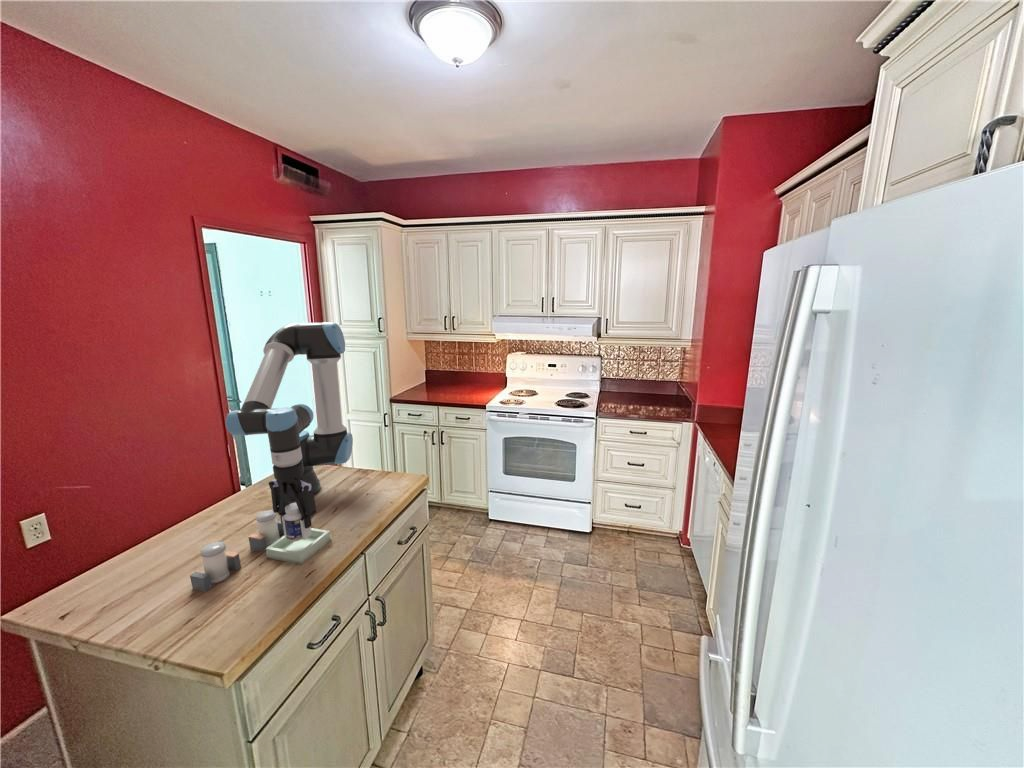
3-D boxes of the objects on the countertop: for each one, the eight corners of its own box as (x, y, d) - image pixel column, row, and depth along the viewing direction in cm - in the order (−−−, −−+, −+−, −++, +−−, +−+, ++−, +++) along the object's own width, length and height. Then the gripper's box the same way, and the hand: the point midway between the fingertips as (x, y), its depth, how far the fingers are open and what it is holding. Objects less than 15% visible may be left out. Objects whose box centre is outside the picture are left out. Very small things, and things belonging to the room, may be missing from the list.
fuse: (270, 534, 126) (266, 509, 124) (284, 537, 125) (280, 511, 123) (256, 544, 121) (251, 517, 119) (270, 547, 120) (265, 520, 118)
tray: (298, 534, 126) (297, 525, 125) (330, 539, 123) (329, 530, 122) (267, 557, 115) (265, 548, 114) (301, 564, 112) (300, 554, 111)
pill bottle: (299, 543, 115) (295, 511, 112) (282, 541, 116) (277, 510, 114) (313, 532, 120) (309, 502, 118) (296, 530, 121) (292, 500, 119)
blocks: (277, 530, 128) (275, 518, 127) (289, 532, 127) (287, 520, 126) (192, 589, 103) (189, 574, 102) (205, 592, 102) (202, 577, 101)
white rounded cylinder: (220, 569, 110) (216, 540, 108) (234, 573, 108) (229, 543, 107) (200, 581, 105) (195, 551, 103) (214, 586, 104) (209, 555, 102)
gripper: (250, 464, 112) (262, 538, 117) (305, 470, 107) (315, 547, 112) (272, 454, 119) (282, 524, 124) (324, 460, 114) (333, 532, 119)
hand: (298, 535), depth 118 cm, fingers closed on pill bottle, 6 cm apart
